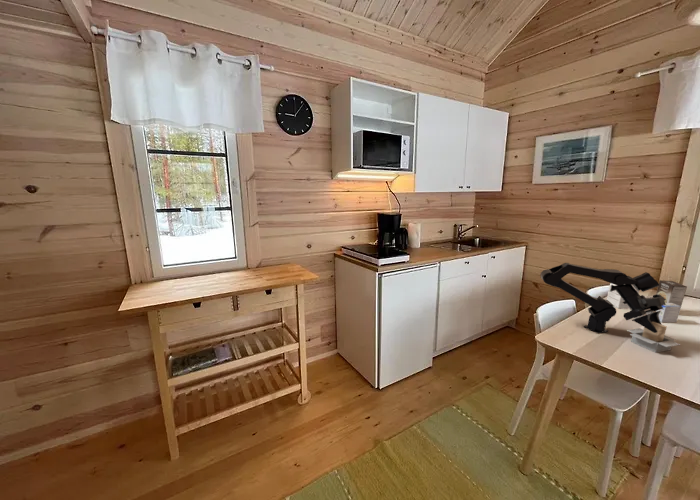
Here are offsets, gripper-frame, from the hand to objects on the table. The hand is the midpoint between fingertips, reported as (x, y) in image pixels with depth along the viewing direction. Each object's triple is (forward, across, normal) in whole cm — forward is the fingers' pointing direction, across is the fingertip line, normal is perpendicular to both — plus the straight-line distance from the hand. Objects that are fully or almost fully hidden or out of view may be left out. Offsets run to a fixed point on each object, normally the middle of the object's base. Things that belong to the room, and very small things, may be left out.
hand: (658, 331), depth 118 cm
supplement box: (-16, +42, +26) cm, 52 cm away
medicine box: (-2, +39, +13) cm, 41 cm away
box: (+4, 0, +6) cm, 7 cm away
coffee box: (-6, +55, +17) cm, 58 cm away
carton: (+4, 0, +6) cm, 7 cm away
